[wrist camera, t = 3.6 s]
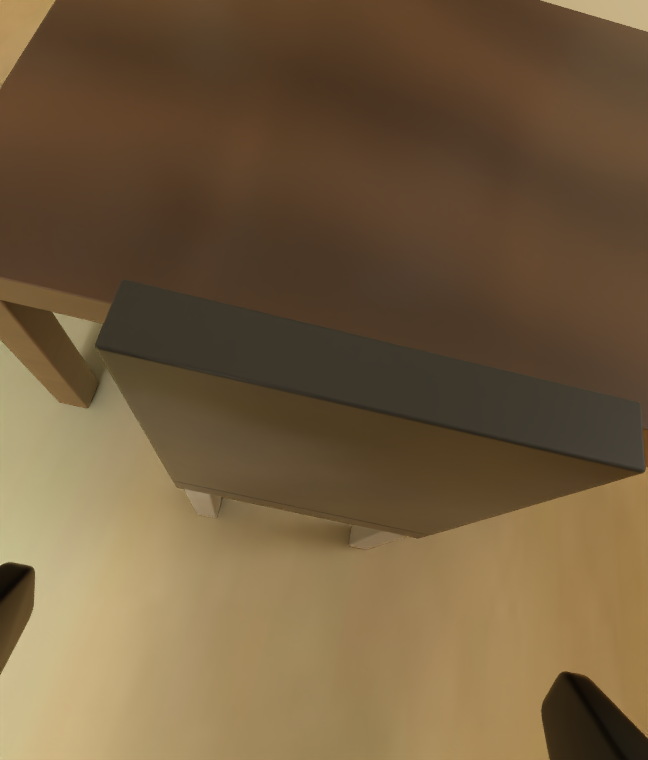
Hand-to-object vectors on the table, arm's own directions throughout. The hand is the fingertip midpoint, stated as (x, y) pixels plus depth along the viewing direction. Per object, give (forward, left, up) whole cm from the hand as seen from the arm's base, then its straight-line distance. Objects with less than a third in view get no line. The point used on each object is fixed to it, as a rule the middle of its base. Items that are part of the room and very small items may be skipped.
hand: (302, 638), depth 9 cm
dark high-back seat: (+4, +5, -11) cm, 13 cm away
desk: (+9, +10, -11) cm, 18 cm away
